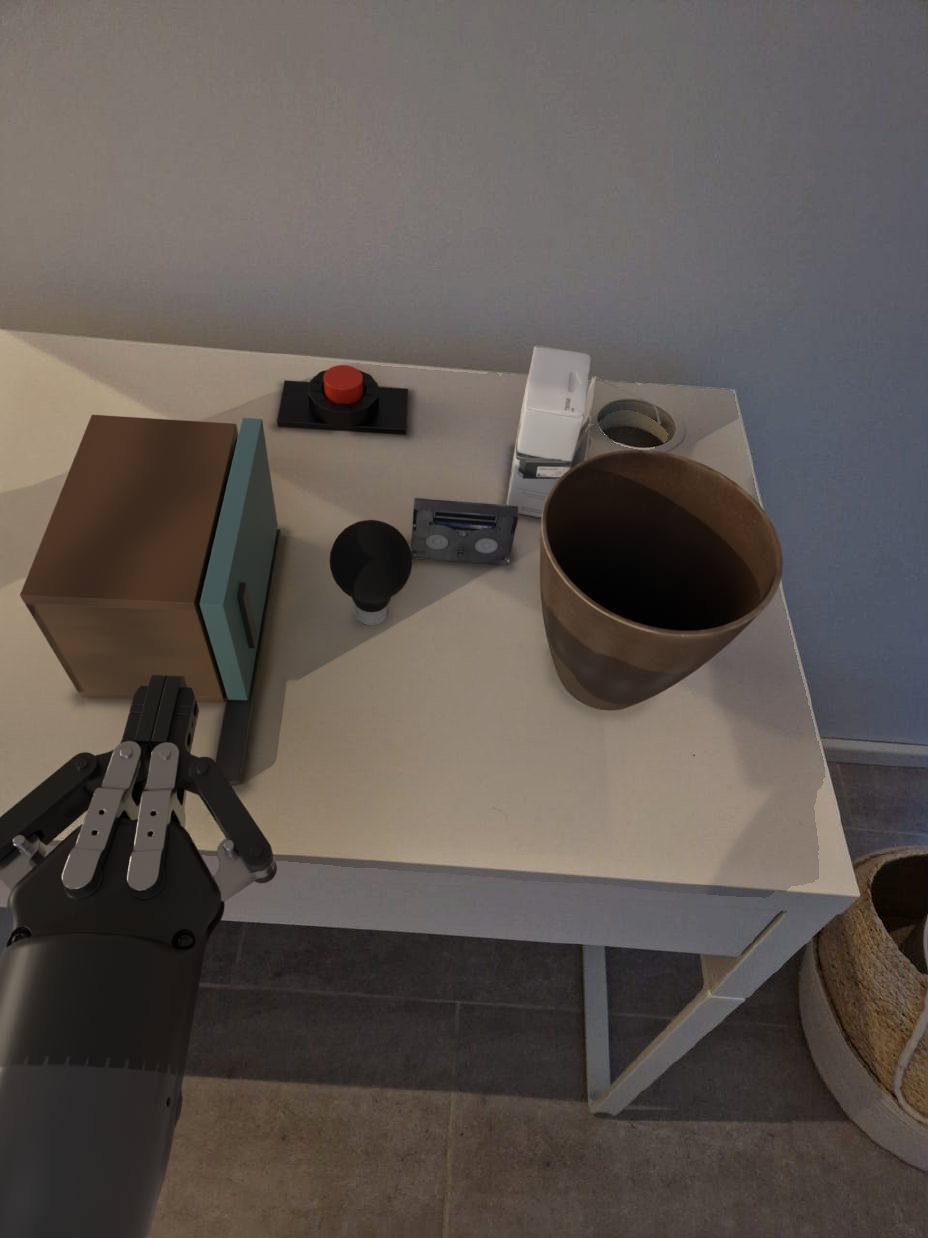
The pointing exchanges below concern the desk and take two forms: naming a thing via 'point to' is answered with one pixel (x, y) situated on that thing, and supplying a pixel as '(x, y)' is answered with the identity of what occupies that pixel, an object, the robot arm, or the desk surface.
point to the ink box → (548, 426)
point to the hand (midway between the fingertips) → (170, 683)
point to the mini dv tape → (463, 531)
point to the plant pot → (649, 572)
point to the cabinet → (141, 565)
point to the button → (343, 384)
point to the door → (241, 562)
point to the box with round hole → (586, 440)
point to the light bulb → (371, 566)
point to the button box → (343, 408)
